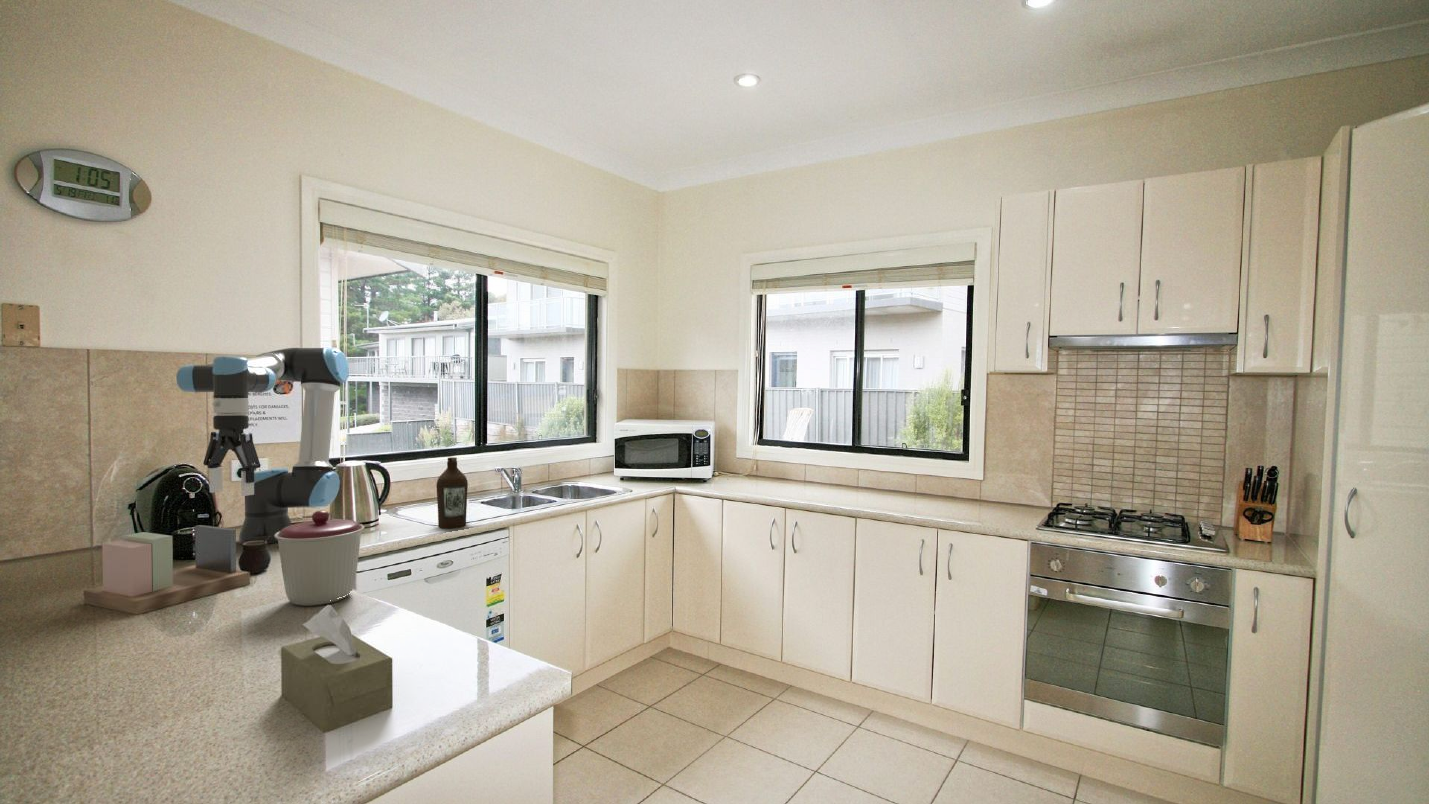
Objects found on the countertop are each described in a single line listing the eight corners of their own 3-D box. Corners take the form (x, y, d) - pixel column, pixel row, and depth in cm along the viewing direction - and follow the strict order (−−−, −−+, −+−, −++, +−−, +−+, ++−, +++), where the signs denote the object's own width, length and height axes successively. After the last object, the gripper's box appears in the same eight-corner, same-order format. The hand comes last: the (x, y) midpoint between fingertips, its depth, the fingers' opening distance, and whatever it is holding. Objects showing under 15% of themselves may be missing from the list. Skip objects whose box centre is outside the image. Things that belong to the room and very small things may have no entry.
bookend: (200, 566, 167) (200, 525, 167) (236, 572, 162) (235, 529, 162) (195, 567, 166) (195, 525, 166) (231, 573, 161) (230, 530, 161)
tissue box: (280, 695, 104) (279, 599, 104) (345, 674, 111) (344, 585, 111) (325, 735, 92) (324, 626, 92) (394, 709, 100) (393, 608, 99)
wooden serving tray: (199, 575, 170) (199, 564, 170) (249, 583, 162) (249, 572, 162) (83, 603, 147) (83, 590, 147) (136, 614, 140) (136, 601, 140)
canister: (314, 616, 139) (313, 520, 139) (255, 607, 145) (254, 515, 145) (381, 592, 157) (381, 506, 156) (326, 584, 162) (326, 502, 162)
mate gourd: (243, 569, 175) (243, 533, 175) (275, 567, 178) (275, 531, 178) (233, 576, 169) (234, 538, 169) (267, 574, 171) (268, 537, 171)
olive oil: (434, 524, 235) (433, 457, 234) (464, 521, 240) (464, 455, 240) (439, 530, 226) (439, 459, 225) (470, 526, 232) (470, 458, 231)
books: (144, 581, 154) (143, 532, 154) (172, 586, 150) (172, 535, 150) (102, 590, 147) (102, 539, 147) (131, 596, 143) (131, 543, 143)
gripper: (187, 414, 172) (187, 492, 172) (245, 415, 162) (246, 498, 162) (217, 413, 179) (218, 488, 179) (275, 414, 169) (276, 494, 169)
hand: (231, 493), depth 171 cm, fingers open, 13 cm apart
